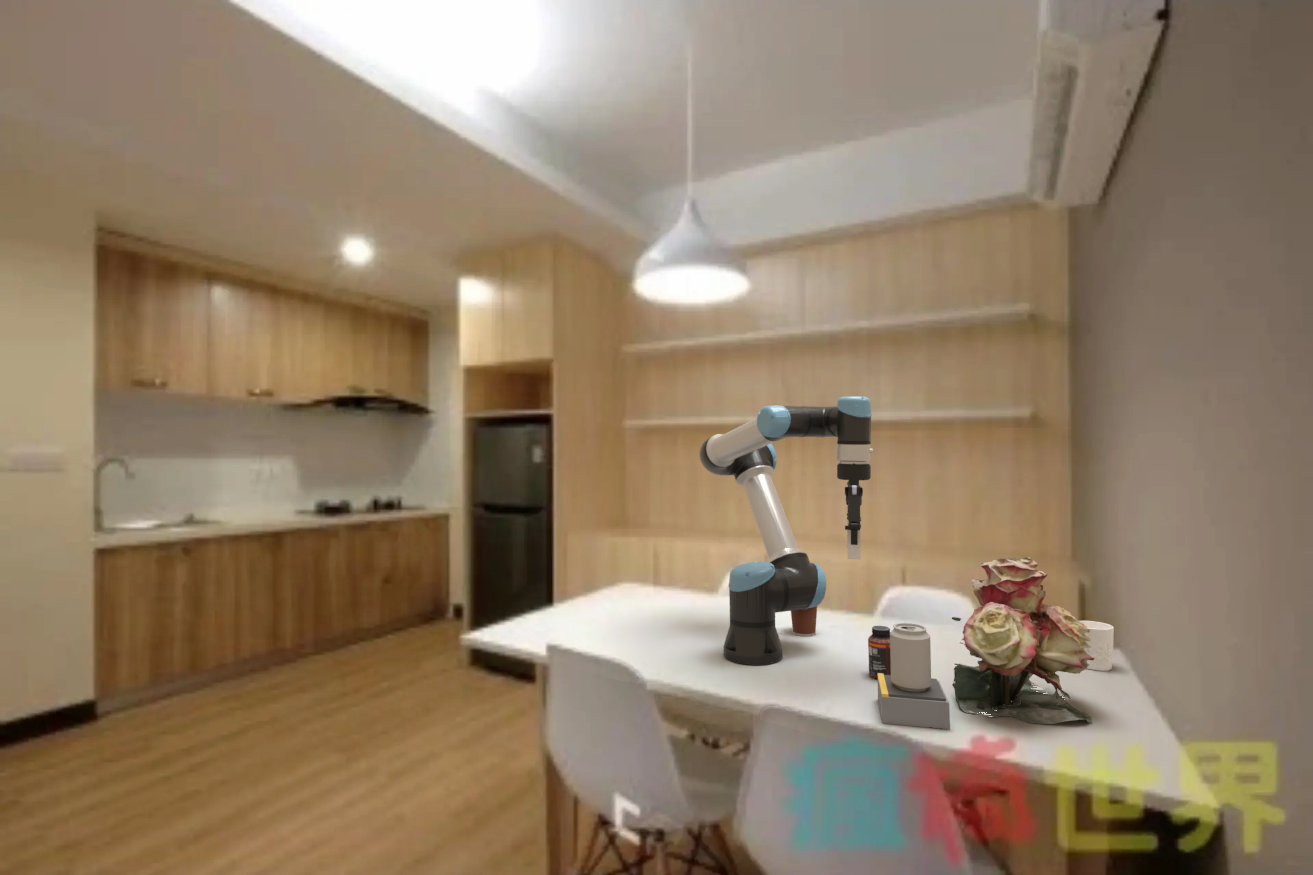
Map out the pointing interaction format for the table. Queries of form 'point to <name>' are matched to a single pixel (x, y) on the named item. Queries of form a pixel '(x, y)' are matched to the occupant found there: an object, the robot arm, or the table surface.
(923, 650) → the can
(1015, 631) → the rose bouquet
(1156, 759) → the table surface
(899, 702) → the block
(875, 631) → the supplement bottle
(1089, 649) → the white cup
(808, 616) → the coffee cup
